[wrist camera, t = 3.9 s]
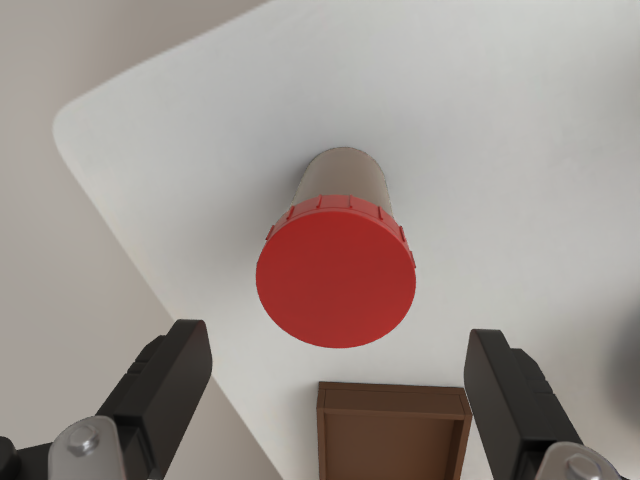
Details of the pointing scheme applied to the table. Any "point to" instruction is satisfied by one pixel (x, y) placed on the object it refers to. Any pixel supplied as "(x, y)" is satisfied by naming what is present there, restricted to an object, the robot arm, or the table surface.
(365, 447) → the tray
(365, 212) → the lid
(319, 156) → the jar
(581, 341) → the table surface
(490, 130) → the table surface
